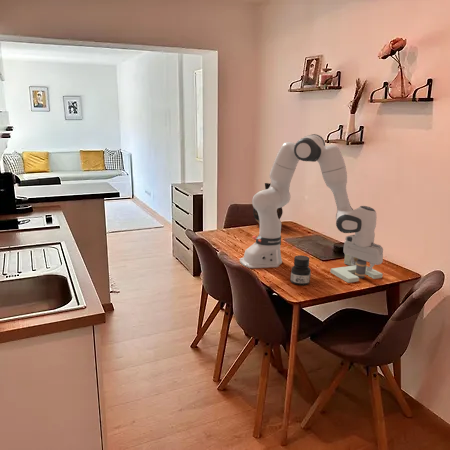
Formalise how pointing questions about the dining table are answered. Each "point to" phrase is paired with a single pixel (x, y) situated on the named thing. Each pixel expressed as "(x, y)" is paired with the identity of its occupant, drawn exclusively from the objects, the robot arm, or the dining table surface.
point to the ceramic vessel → (279, 210)
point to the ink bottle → (300, 270)
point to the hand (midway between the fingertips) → (361, 267)
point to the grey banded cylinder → (360, 268)
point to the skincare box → (348, 261)
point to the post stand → (349, 271)
